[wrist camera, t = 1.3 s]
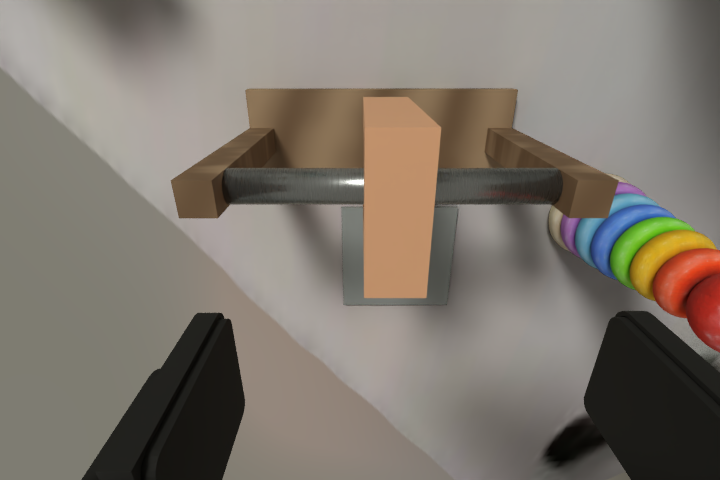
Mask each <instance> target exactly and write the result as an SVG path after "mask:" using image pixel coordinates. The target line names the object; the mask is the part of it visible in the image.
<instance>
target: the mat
mask: <svg viewBox="0 0 720 480" xmlns="http://www.w3.org/2000/svg"><path fill="white" fill-rule="evenodd" d="M341 210H342V253H343V296H344V305H447V299H448V290H449V282H450V273H451V265H452V256H453V247H454V239H455V230H456V222H457V213H458V207H434V217H433V228H432V239H431V251H430V262H429V273H428V285H427V296H426V298H364V253H363V207H342V208H341Z"/></svg>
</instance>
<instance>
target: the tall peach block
mask: <svg viewBox="0 0 720 480" xmlns="http://www.w3.org/2000/svg"><path fill="white" fill-rule="evenodd" d="M363 130H364V204H363V253H364V298H426V296H427V285H428V273H429V262H430V251H431V239H432V228H433V217H434V205H435V194H436V182H437V171H438V160H439V148H440V137H441V127H440V126H439V125H438V124H437V123H436V122H435V121H434V120H433V119H432V118H430V117H429V116H428V115H427V114H426V113H425V112H424V111H423V110H422V109H421V108H419V107H418V106H417V105H416V104H415V103H414V102H413V101H412V100H411V99H410V98H409V97H363Z"/></svg>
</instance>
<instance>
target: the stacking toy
mask: <svg viewBox="0 0 720 480" xmlns="http://www.w3.org/2000/svg"><path fill="white" fill-rule="evenodd" d="M607 175H609V176H611V177H613V178H615V179H617V180H619V182H618V186H617V189H616V192H615V196H614V199H613V202H612V206H611V209H610V213H609V216H608V218H568V217H566V216H565V215H564V214H563V213H561V212H560V211H559V210H558V209H556V208H555V207H554V206H553V205H552V207H551V210H550V213H549V220H548V223H549V229H550V233H551V235H552V237H553V239H554V240H555V241H556V243H557V244H558V245H559V246H561V247H562V248H563V249H565V250H567V251H569V252H572V253H573V254H574V255H576V256H577V257H579V258H582V259H583V260H584V261H585V262H586V263H587V264H588V265H590V266H592V267H594V268H596V269H598V270H599V271H600V272H601V273H603V274H604V275H606V276H608V277H610V278H612V279H616V280H618V281H619V282H620V283H622V284H623V285H625V286H626V287H629V288H631V289H634V290H636V291H637V292H638V293H639V294H641V295H642V296H644V297H645V298H648V299H650V300H653V301H656V302H657V304H658V305H659V306H660V307H661V308H662V309H663V310H664V311H666V312H668V313H669V314H671V315H674V316H677V317H681V318H687V320H688V322H689V325H690V327H691V328H692V330H693V331H694V333H695V334H696V335H697V337H698V338H699V339H701V340H702V341H703V342H704V343H705V344H706V345H707V346H709V347H711V348H712V349H714V350H716V351H718V352H719V353H720V250H717V249H716V247H715V245H714V244H713V242H712V241H711V240H710V239H709V238H707V237H706V236H705V235H703V234H701V233H698V232H695V231H694V229H693V228H692V227H691V226H690V225H688V224H687V223H685V222H683V221H682V220H679V219H676V218H675V217H674V216H673V215H672V214H671V213H670V212H669V211H667V210H666V209H664V208H661V207H659V205H658V204H657V203H656V202H654V201H653V200H652V199H650V198H648V197H647V196H646V195H645V194H644V193H643V192H642V191H641V190H640V189H639V188H637V187H635V186H633V185H631V184H630V183H629V182H628V181H626V180H625V179H623V178H621V177H619V176H616V175H613V174H607Z"/></svg>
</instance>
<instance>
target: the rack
mask: <svg viewBox="0 0 720 480" xmlns="http://www.w3.org/2000/svg"><path fill="white" fill-rule="evenodd" d="M245 91H246V99H247V108H248V116H249V124H250V128H249V129H248V130H246V131H245V132H243V133H242V134H240V135H239V136H237V137H236V138H234V139H233V140H231V141H230V142H228V143H227V144H225V145H224V146H222V147H221V148H219V149H218V150H216V151H215V152H213V153H212V154H210V155H209V156H207V157H206V158H204V159H203V160H201V161H200V162H198V163H197V164H195V165H194V166H192V167H191V168H189V169H187V170H186V171H184V172H183V173H181V174H180V175H178V176H177V177H175V178H174V179H172V180H171V184H172V188H173V193H174V197H175V202H176V206H177V211H178V215H179V218H219V216H220V215H221V214H222V213H223V212H224V211H225V210H226V208H227V207H228V206H229V205H230V204H364V130H363V97H409V98H410V99H411V100H412V101H413V102H414V103H415V104H416V105H417V106H418V107H419V108H421V109H422V110H423V111H424V112H425V113H426V114H427V115H428V116H429V117H430V118H432V119H433V120H434V121H435V122H436V123H437V124H438V125H439V126H440V127H441V137H440V148H439V160H438V171H437V182H436V194H435V204H551V205H553V206H554V207H555V208H556V209H558V210H559V211H560V212H561V213H563V214H564V215H565V216H566V217H568V218H608V216H609V213H610V209H611V206H612V202H613V199H614V196H615V192H616V189H617V186H618V182H619V180H617V179H615V178H613V177H611V176H609V175H607V174H605V173H603V172H601V171H599V170H597V169H595V168H593V167H590V166H588V165H586V164H584V163H582V162H580V161H578V160H576V159H574V158H572V157H570V156H568V155H566V154H564V153H562V152H560V151H558V150H556V149H554V148H552V147H550V146H548V145H545V144H543V143H541V142H539V141H537V140H535V139H533V138H531V137H529V136H527V135H525V134H523V133H521V132H519V131H517V130H515V129H513V128H512V123H513V117H514V110H515V104H516V98H517V92H518V90H517V89H247V90H245Z"/></svg>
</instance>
